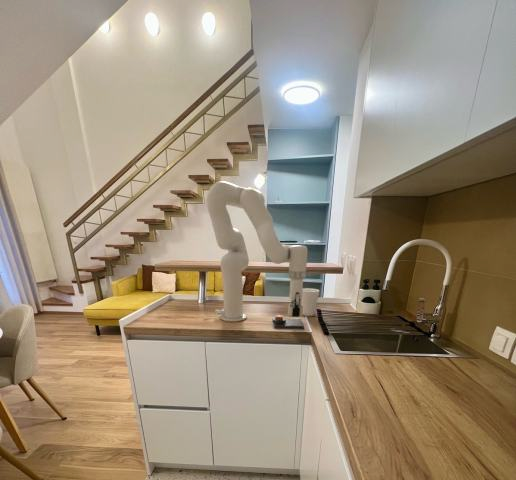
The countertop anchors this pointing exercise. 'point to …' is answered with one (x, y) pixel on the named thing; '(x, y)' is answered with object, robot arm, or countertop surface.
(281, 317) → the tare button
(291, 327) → the scale
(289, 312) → the bowl
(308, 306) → the foam cup
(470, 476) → the countertop surface
